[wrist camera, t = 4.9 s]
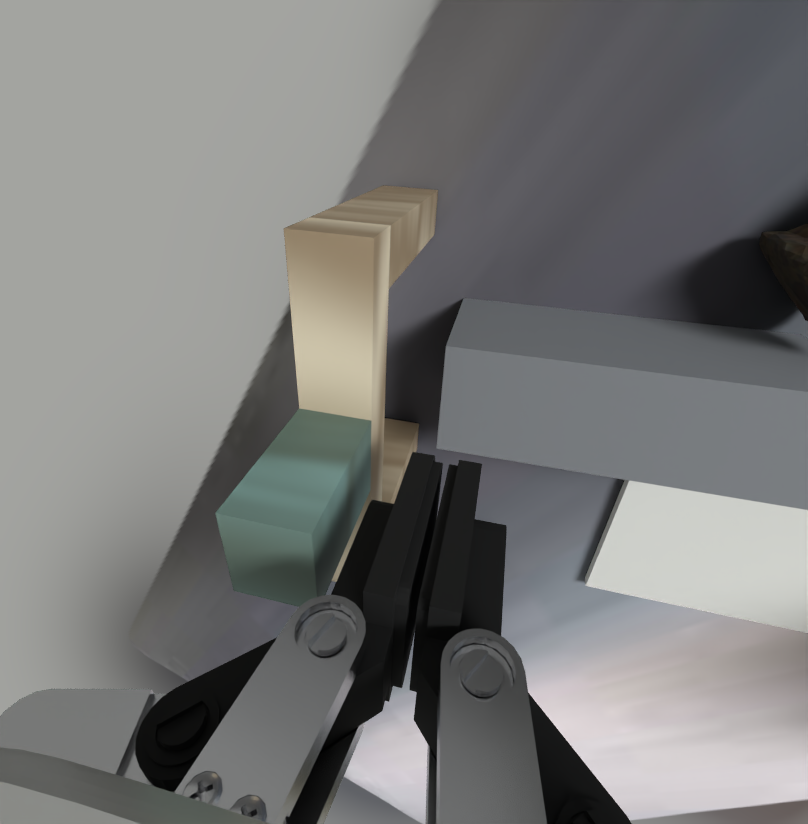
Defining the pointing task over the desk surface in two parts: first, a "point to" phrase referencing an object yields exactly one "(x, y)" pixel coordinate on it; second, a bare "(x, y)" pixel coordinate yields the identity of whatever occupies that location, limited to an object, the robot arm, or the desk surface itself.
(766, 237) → the hand tool
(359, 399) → the wooden arch block
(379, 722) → the desk surface
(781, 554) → the mat
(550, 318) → the grey block with cap
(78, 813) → the robot arm
